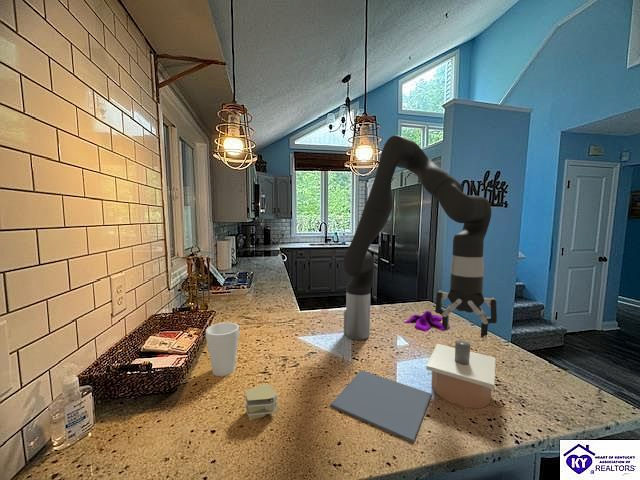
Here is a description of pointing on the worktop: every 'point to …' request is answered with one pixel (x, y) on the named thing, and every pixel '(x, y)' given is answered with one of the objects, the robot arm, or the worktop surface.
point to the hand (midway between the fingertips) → (463, 333)
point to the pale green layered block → (260, 401)
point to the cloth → (426, 321)
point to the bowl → (461, 391)
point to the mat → (384, 404)
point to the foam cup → (222, 347)
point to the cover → (463, 364)
